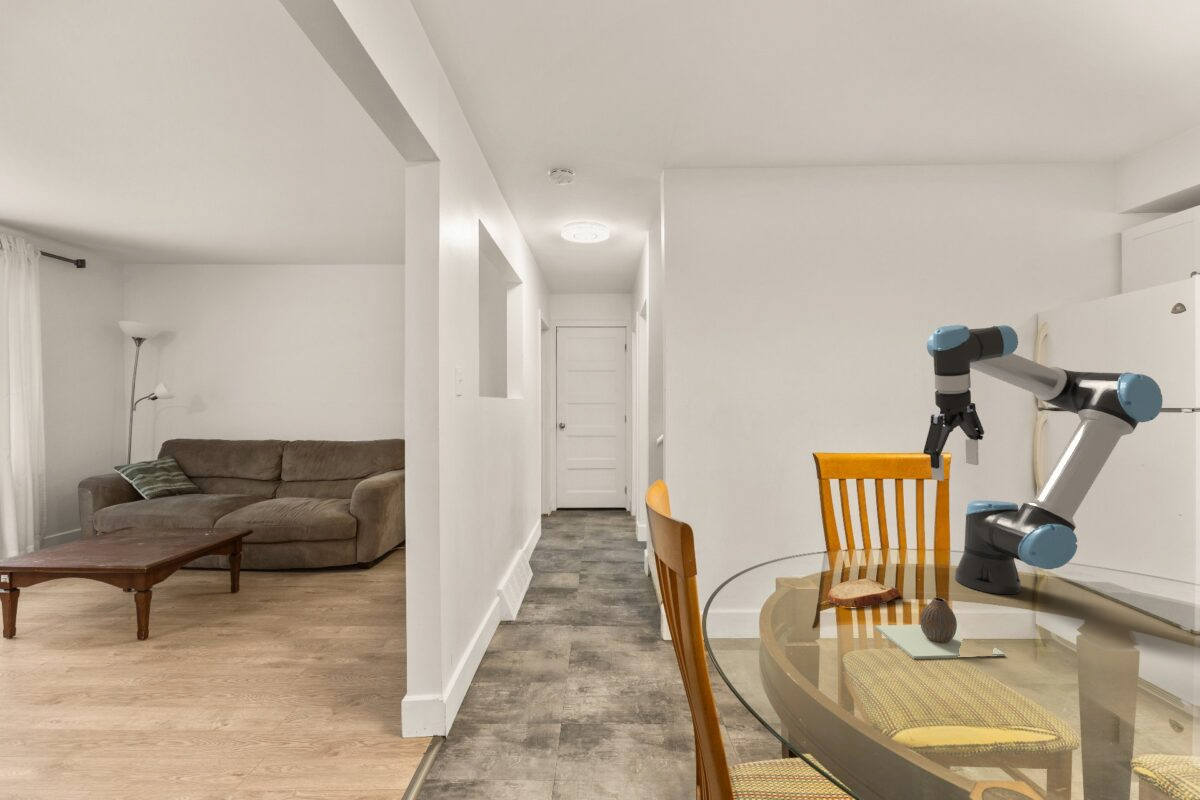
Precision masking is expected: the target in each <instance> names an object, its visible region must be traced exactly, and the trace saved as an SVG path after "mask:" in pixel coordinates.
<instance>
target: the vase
mask: <svg viewBox="0 0 1200 800" xmlns="http://www.w3.org/2000/svg"><path fill="white" fill-rule="evenodd" d="M955 615H956V614H954V611H953V610H952V609H951V607H950V606H949V605H948V602H947V600H946V599H945V598H942V597H937V596H936V597H933V598H932V599H931V601H930V602H929V603H928V604H926V606H925V607H924V608H923V609H922V611H921V613H920V618H919V625H921V629H922V632H923V633H924V635H925V636H926V637H927V638H928V639H930V640H932V641H934V642H938V643H947V642H949V641H950V640H951V639H953V637H954V636H955V633H956V630H957V624H958V623H957V618H956V616H955Z"/></svg>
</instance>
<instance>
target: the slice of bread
mask: <svg viewBox="0 0 1200 800" xmlns="http://www.w3.org/2000/svg"><path fill="white" fill-rule="evenodd" d="M899 596H900V591H899V589H898V588H897V587H893V586H891V587H888V586H886V585H884V584H882V583H880V582H878V581H876V580H873V579H871V578H860V579H851V580H847V581H844V582H840V583H838V584H837V585H836V586H834V587H832V588H831V589H830V590H829V591H828V594H827V598H828V599H829V600H830V601H832V602H833V603H835V604H837V605H841V606H845V607H860V608H863V607H862V606H866V607H871V606H870V605H872V606H877V605H881V603H882V604H883V603H884V602H886V603H888V602H890V600H891V601H892V600H894V599H896V598H898V597H899ZM828 599H827V600H828ZM876 604H877V605H876ZM884 604H885V603H884Z"/></svg>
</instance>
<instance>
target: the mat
mask: <svg viewBox="0 0 1200 800" xmlns="http://www.w3.org/2000/svg"><path fill="white" fill-rule="evenodd" d="M959 625H960V624H959V623H957V630H956V633H955V636H954V637H953V639H951V640H950V641H949V642H947V643H938V642H934V641H932V640H930V639H928V638H927V637H926V636H925V635H924V633H923V632H922V629H921V625H920V624H896V625H895V624H892V625H890V624H889V625H888V624H887V625H882V624H881V625H875V626H874V629H876V631H878V632H879V633H881V634H882V635H883V636H884V637H886V638H887V639H888V640H889V641H890V642H892V643H893V644H894V645H896V646H897V647H898V648H899V649H900V650H901V651H903V652H904V653H905V654H907V655H908V656H909V657H910V658H912V660H922V659H924V660H925V659H926V660H927V659H929V660H930V659H958V658H957V657H958V656H960V654H959V648H960V646H961V643H962V642H963V641H962V640H963V639H962V638H961V637H960V636H961V635H960V634H959V631H960V628H961V626H962V625H960V626H959ZM1005 654H1006V653H1004V652H1003V651H1002V650H999V648H997V647H995V648H994V649H993V653H992V655H997V656H1006V655H1005Z"/></svg>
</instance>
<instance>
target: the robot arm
mask: <svg viewBox="0 0 1200 800" xmlns="http://www.w3.org/2000/svg"><path fill="white" fill-rule="evenodd" d="M1018 346H1019V338H1018V334H1017V331H1016V330H1015V329H1014V328H1012V327H1011V326H1009V325H1006V324H1003V325H993V326H991V327H983V328H980V327H979V328H969V327H968V326H967V325H960V324H958V325H957V324H956V325H946V326H942V327H941V326H940V327H937V328H935V330H934V331H933V332H932V334H931V335H930V336H929V338H928V340H927V342H926V350H927V352H928V354H929V355H930V356H931V357H932V358H933V370H934V371H933V373H934V389H935V390H936V391H934V399H935V406H936V407H938V408H939V414H931V416H930V424H929V427H928V428H929V429H928V432H927V437H926V440H925V443H924V446H923V447H924V448H923V454H924V455H928V456H929V457H930V459H929V460H930V468H931V479H933V480H936V481H941V482H943V481H945V463H944V455H943V454H942V452H943V450H944V448H945V445H946V443H947V440H948V438H949V437H950V434H951V433H952V432H953V431H954V430H955V428H957V427H960V428H961V430H962V432H963V433H964V435H966V437H967V438H965V462H966V464H967V465H968V464H969V465H974V466H978V465H979V440H980V441H982V440H983V439H984V434H985V430H984V428H983V424H982V423H981V420H980V418H979V415H978V412H977V408H976V403H974V402H972V394H971V393H972V392H971V390H970V389H971V388H972V387H971V386H972V385H971V383H972V382H971V381H972V380H971V369H972V370H974V371H975V370H976V371H977V372H980V373H983V374H984V375H987V376H990V377H992V378H995V379H998V380H1000V381H1003V382H1005V383H1007V384H1010V385H1013V386H1015V387H1017V388H1020V389H1023V390H1025V391H1027V392H1031V393H1032V394H1033V395H1034V397H1035V398H1036V399H1038V400H1040V401H1042V402H1045V403H1047V404H1050V405H1053V406H1054V407H1057V408H1058V409H1062V410H1064V411H1067V412H1070V413H1073V414H1077V416H1078V417H1079V419H1080V422H1079V424H1078V425H1077V427H1076V429H1075V431H1074V432H1073V434H1072V436H1071V437H1070V439H1069V441H1068V442H1067V444H1066V446H1065V447H1064V449H1063V451H1062V452H1061V454H1060V456H1059V457H1058V458H1057V460H1056V462H1055V464H1054V466H1053V467H1052V469H1051V470H1050V472H1049V473H1048V475H1047V477H1046V479H1045V481H1043V484H1042V486H1041V487H1040V489H1039V491H1038V492H1037V494H1036V495H1035V497H1034V498H1033V499H1032V500H1029V501H1025V502H1023V503H1022V504H1021V507H1020V508H1019V505H1018V504H1017V503H1014V502H1009V501H1000V500H973V501H970V502H969V503H968V504H967V508H966V513H965V527H964V528H965V529H964V530H965V531H964V545H963V546H964V549H963V554H962V556H961V558H960V560H959V563H958V566H957V567H956V568H955V570H954V571H955V574H954V580H955V581H956V582H957V583H959V584H961V585H962V586H965V587H966V588H970V589H973V590H977V591H980V592H985V593H990V594H996V595H997V594H998V595H1015V594H1018V593H1019V592H1021V579H1020V576H1019V572H1018V569H1017V566H1016V565H1017V564H1016V563H1015V559H1016V560H1019V561H1021V562H1023V563H1025V564H1026V565H1028V566H1030V567H1031V566H1032V567H1037V568H1039V569H1043V570H1054V569H1058V568H1059V569H1060V568H1061V567H1064V566H1065V565H1067V564H1068V563H1069V562H1070V561H1071V560H1072V559H1073V558H1074V556H1075V555H1076V552H1077V550H1078V544H1076V543H1078V537H1077V534H1076V533H1075V530H1076V527H1077V526H1076V523H1075V522H1074V518H1073V517H1074V516H1075V514H1076V512H1077V511H1078V510H1079V508H1080V506H1081V504H1082V503H1083V501H1084V499H1085V497H1086V496H1087V494H1088V492H1089V490H1090V489H1091V487H1092V486H1093V484H1094V483H1095V481H1096V480H1097V477H1098V476H1099V474H1100V473H1101V471H1102V469H1103V468H1104V466H1105V464H1106V462H1107V461H1108V459H1109V458H1110V456H1111V454H1112V453H1113V451H1114V449H1115V447H1116V446H1117V444H1118V442H1119V440H1120V439H1121V437H1122V436H1126V435H1127V436H1128V435H1131V434H1133V433H1134V431H1135V429H1136V428H1137V426H1138V424H1139V423H1146V422H1147V423H1148V422H1150V421H1153V420H1154V419H1156V418H1157V417H1158V416H1159V414H1160V413H1161V412H1162V411H1161V410H1162V407H1163V400H1164V399H1163V395H1162V390H1161V388H1160V386H1159V384H1158V383H1157V382H1156V381H1155V379H1153V378H1152V377H1151V376H1148V375H1146V374H1144V373H1143V374H1141V373H1133V372H1121V373H1120V372H1118V373H1117V372H1095V371H1094V372H1093V371H1073V370H1067V369H1064V368H1061V367H1057V366H1051V367H1050V366H1049V367H1048V366H1046V365H1043V364H1040V363H1039V362H1036V361H1034V360H1030V359H1028V358H1026V357H1023V356H1020V355H1019V354H1015V353H1014V352H1015V351H1016V350H1017V349H1018Z"/></svg>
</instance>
